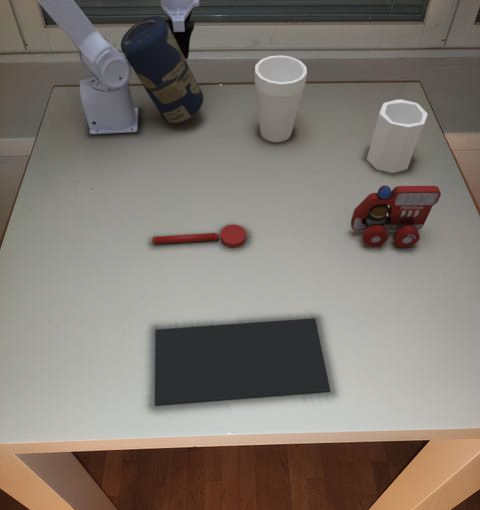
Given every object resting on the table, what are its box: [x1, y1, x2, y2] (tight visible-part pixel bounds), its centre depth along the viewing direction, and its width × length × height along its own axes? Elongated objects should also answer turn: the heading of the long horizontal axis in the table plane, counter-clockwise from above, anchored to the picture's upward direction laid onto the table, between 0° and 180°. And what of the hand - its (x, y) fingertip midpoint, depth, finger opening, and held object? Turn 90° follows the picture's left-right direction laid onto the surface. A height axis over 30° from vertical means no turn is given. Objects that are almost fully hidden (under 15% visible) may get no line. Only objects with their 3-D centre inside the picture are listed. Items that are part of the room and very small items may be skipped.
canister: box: [120, 15, 204, 124], centre depth 90 cm, size 10×10×18 cm
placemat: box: [154, 317, 331, 407], centre depth 68 cm, size 24×12×1 cm, turn 95°
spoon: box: [151, 224, 247, 248], centre depth 80 cm, size 16×4×1 cm, turn 95°
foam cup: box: [254, 54, 308, 143], centre depth 91 cm, size 10×9×13 cm
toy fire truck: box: [350, 185, 442, 249], centre depth 77 cm, size 7×12×10 cm, turn 88°
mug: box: [366, 98, 429, 174], centre depth 89 cm, size 12×9×10 cm
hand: (182, 51), depth 95 cm, fingers open, 4 cm apart
